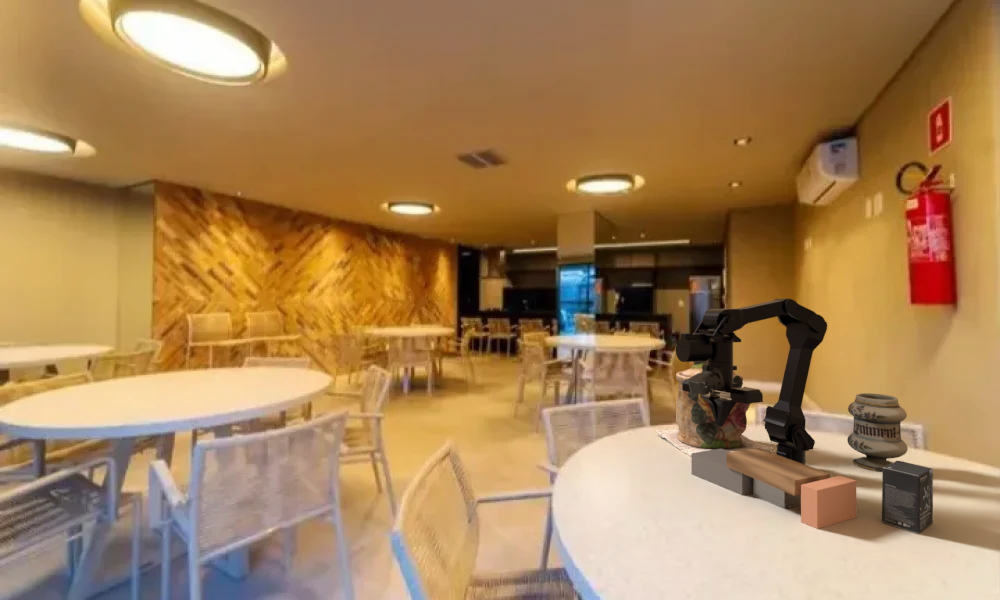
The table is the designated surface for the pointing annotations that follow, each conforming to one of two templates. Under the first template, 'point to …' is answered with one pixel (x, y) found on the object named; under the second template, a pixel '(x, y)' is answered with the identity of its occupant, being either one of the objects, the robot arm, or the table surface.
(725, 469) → the plinth
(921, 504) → the box
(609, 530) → the table surface
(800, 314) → the robot arm
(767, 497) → the support block
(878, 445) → the apothecary jar
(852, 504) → the end stop
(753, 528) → the table surface
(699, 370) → the cookie jar
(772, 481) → the slab
